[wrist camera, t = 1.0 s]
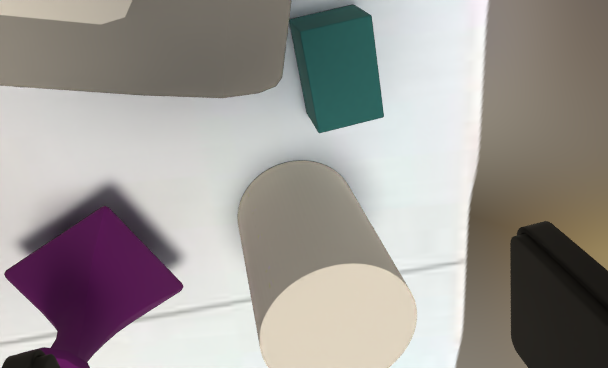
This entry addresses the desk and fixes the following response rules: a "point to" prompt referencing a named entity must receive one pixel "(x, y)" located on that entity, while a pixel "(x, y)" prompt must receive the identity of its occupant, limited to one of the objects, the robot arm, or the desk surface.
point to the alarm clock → (144, 46)
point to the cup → (320, 273)
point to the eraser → (338, 67)
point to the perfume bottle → (92, 284)
